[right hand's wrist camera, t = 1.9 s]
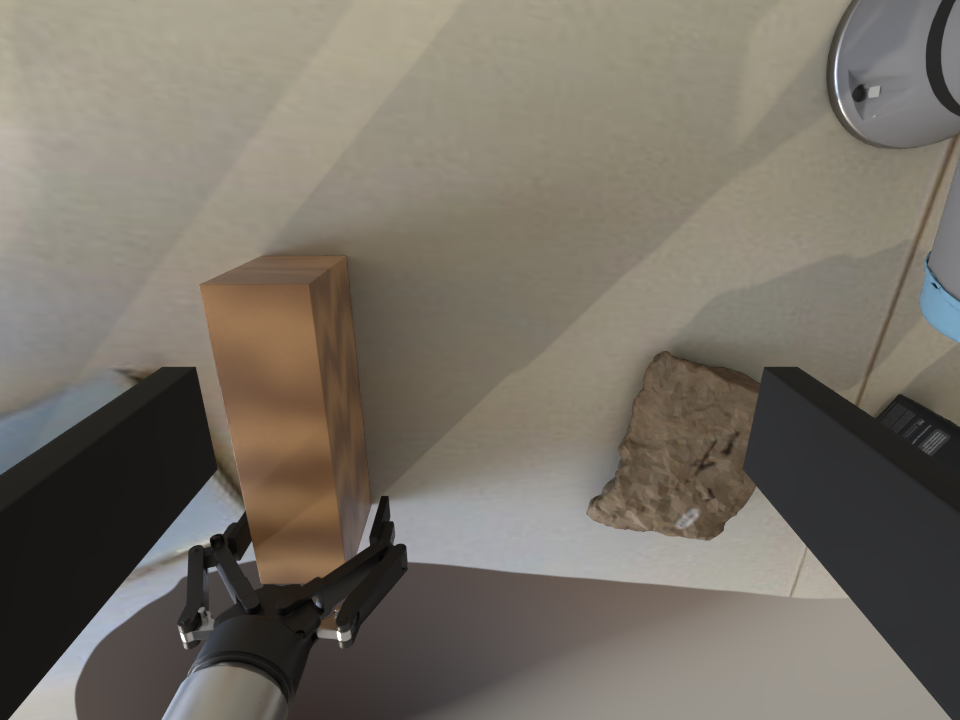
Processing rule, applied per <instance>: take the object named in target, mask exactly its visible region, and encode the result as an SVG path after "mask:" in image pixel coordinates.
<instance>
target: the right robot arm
mask: <svg viewBox="0 0 960 720" xmlns="http://www.w3.org/2000/svg"><path fill="white" fill-rule="evenodd" d="M827 88H828V95H829V99H830V103H831V106H832V108H833V111H834V113H835V115H836V117H837V119H838V120H839V122H840V123H841V124H842V126H843V127H844V128H845V129H846V130H847V131H848V132H849V133H850V134H851V135H852V136H854V137H855V138H857V139H858V140H860V141H862V142H864V143H866V144H869V145H872V146H876V147H880V148H916V147H921V146H925V145H929V144H933V143H937V142H940V141H943V140H945V139H948V138H950V137H952V136H954V135H956V134H959V133H960V0H853V1H852V2H851V4H850V5H849V6H848V8H847V10H846V11H845V13H844V15H843V17H842V19H841V21H840V23H839V25H838V27H837V30H836V32H835V35H834V37H833V41H832V44H831V47H830V52H829V56H828V64H827ZM924 264H925V268H924V270H925V278H924V282H923V286H922V291H921V295H920V306H921V311H922V313H923V316H924V318H925V319H926V320H927V321H928V323H929V324H930V325H931V326H932V327H934V328H935V329H936V330H937V331H939V332H940V333H942V334H943V335H945V336H946V337H948V338H950V339H952V340H954V341H956V342H958V343H960V156H959V160H958V163H957V166H956V170H955V173H954V177H953V180H952V183H951V187H950V190H949V194H948V197H947V200H946V204H945V207H944V211H943V214H942V217H941V221H940V224H939V228H938V231H937V234H936V238H935V241H934V245H933V248H932V251H931V252H929V254H928V255H927V257H926V260H925V263H924ZM216 470H217V464H216V460H215V455H214V450H213V446H212V441H211V436H210V432H209V427H208V422H207V417H206V413H205V408H204V403H203V399H202V394H201V389H200V385H199V380H198V375H197V371H196V367H162V368H160V369H159V370H157V371H156V372H154V373H153V374H151V375H150V376H148V377H147V378H145V379H144V380H142V381H141V382H139V383H138V384H136V385H135V386H133V387H132V388H130V389H129V390H127V391H126V392H124V393H123V394H121V395H120V396H118V397H117V398H115V399H114V400H112V401H111V402H109V403H108V404H106V405H105V406H103V407H102V408H100V409H99V410H97V411H96V412H94V413H93V414H91V415H90V416H88V417H87V418H85V419H84V420H82V421H81V422H79V423H78V424H76V425H75V426H73V427H72V428H70V429H69V430H67V431H66V432H64V433H63V434H61V435H60V436H58V437H57V438H55V439H54V440H52V441H51V442H49V443H48V444H46V445H45V446H43V447H42V448H40V449H39V450H37V451H36V452H34V453H33V454H31V455H30V456H28V457H27V458H25V459H24V460H22V461H21V462H19V463H18V464H16V465H15V466H13V467H12V468H10V469H9V470H7V471H6V472H4V473H3V474H1V475H0V720H8V719H9V718H10V717H11V716H12V714H13V713H14V712H15V711H16V710H17V708H18V707H19V706H20V705H21V704H22V702H23V701H24V700H25V699H26V698H27V696H28V695H29V694H30V693H31V692H32V690H33V689H34V688H35V687H36V686H37V684H38V683H39V682H40V681H41V680H42V678H43V677H44V676H45V675H46V674H47V672H48V671H49V670H50V669H51V668H52V667H53V665H54V664H55V663H56V662H57V661H58V659H59V658H60V657H61V656H62V655H63V653H64V652H65V651H66V650H67V649H68V647H69V646H70V645H71V644H72V643H73V641H74V640H75V639H76V638H77V637H78V635H79V634H80V633H81V632H82V631H83V629H84V628H85V627H86V626H87V625H88V623H89V622H90V621H91V620H92V619H93V617H94V616H95V615H96V614H97V613H98V611H99V610H100V609H101V608H102V607H103V605H104V604H105V603H106V602H107V601H108V600H109V598H110V597H111V596H112V595H113V594H114V592H115V591H116V590H117V589H118V588H119V586H120V585H121V584H122V583H123V582H124V580H125V579H126V578H127V577H128V576H129V574H130V573H131V572H132V571H133V570H134V568H135V567H136V566H137V565H138V564H139V562H140V561H141V560H142V559H143V558H144V556H145V555H146V554H147V553H148V552H149V550H150V549H151V548H152V547H153V546H154V544H155V543H156V542H157V541H158V540H159V539H160V537H161V536H162V535H163V534H164V533H165V531H166V530H167V529H168V528H169V527H170V525H171V524H172V523H173V522H174V521H175V519H176V518H177V517H178V516H179V515H180V513H181V512H182V511H183V510H184V509H185V507H186V506H187V505H188V504H189V503H190V501H191V500H192V499H193V498H194V497H195V495H196V494H197V493H198V492H199V491H200V489H201V488H202V487H203V486H204V485H205V483H206V482H207V481H208V480H209V479H210V478H211V476H212V475H213V474H214V473H215V472H216ZM743 470H744V472H745V473H746V474H747V475H748V476H749V478H750V479H751V480H752V481H753V482H754V483H755V485H756V486H757V487H758V488H759V489H760V491H761V492H762V493H763V494H764V495H765V497H766V498H767V499H768V500H769V501H770V503H771V504H772V505H773V506H774V507H775V509H776V510H777V511H778V512H779V513H780V515H781V516H782V517H783V518H784V519H785V521H786V522H787V523H788V524H789V525H790V527H791V528H792V529H793V530H794V531H795V533H796V534H797V535H798V536H799V537H800V539H801V540H802V541H803V542H804V543H805V544H806V546H807V547H808V548H809V549H810V550H811V552H812V553H813V554H814V555H815V556H816V558H817V559H818V560H819V561H820V562H821V564H822V565H823V566H824V567H825V568H826V570H827V571H828V572H829V573H830V574H831V576H832V577H833V578H834V579H835V580H836V582H837V583H838V584H839V585H840V586H841V588H842V589H843V590H844V591H845V592H846V594H847V595H848V596H849V597H850V598H851V600H852V601H853V602H854V603H855V604H856V605H857V607H858V608H859V609H860V610H861V611H862V613H863V614H864V615H865V616H866V617H867V619H868V620H869V621H870V622H871V623H872V625H873V626H874V627H875V628H876V629H877V631H878V632H879V633H880V634H881V635H882V636H883V638H884V639H885V640H886V641H887V643H888V644H889V645H890V646H891V647H892V649H893V650H894V651H895V652H896V653H897V655H898V656H899V657H900V658H901V659H902V661H903V662H904V663H905V664H906V665H907V667H908V668H909V669H910V670H911V671H912V672H913V674H914V675H915V676H916V677H917V678H918V680H919V681H920V682H921V683H922V684H923V686H924V687H925V688H926V689H927V690H928V692H929V693H930V694H931V695H932V696H933V698H934V699H935V700H936V701H937V702H938V704H939V705H940V706H941V707H942V708H943V710H944V711H945V712H946V713H947V714H948V716H949V717H950V718H951V719H952V720H960V475H959V474H957V473H956V472H954V471H953V470H951V469H950V468H948V467H947V466H945V465H944V464H942V463H941V462H939V461H938V460H936V459H935V458H933V457H932V456H930V455H929V454H927V453H926V452H924V451H923V450H921V449H920V448H918V447H917V446H915V445H914V444H912V443H911V442H909V441H908V440H906V439H905V438H903V437H902V436H900V435H899V434H897V433H896V432H894V431H893V430H891V429H890V428H888V427H887V426H885V425H884V424H882V423H881V422H879V421H878V420H876V419H875V418H873V417H872V416H870V415H869V414H867V413H866V412H864V411H863V410H861V409H860V408H858V407H857V406H855V405H854V404H852V403H851V402H849V401H848V400H846V399H845V398H843V397H842V396H840V395H839V394H837V393H836V392H834V391H833V390H831V389H830V388H828V387H827V386H825V385H824V384H822V383H821V382H819V381H818V380H816V379H815V378H813V377H812V376H810V375H809V374H807V373H806V372H804V371H803V370H801V369H800V368H798V367H764V371H763V375H762V380H761V385H760V389H759V394H758V399H757V403H756V408H755V413H754V417H753V422H752V427H751V432H750V436H749V441H748V446H747V450H746V455H745V460H744V464H743Z"/></svg>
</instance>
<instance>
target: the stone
mask: <svg viewBox="0 0 960 720" xmlns="http://www.w3.org/2000/svg"><path fill="white" fill-rule="evenodd" d="M760 385H761V384H759V383H758V382H756V381H754V380H753V379H751V378H750V377H749V376H747V375H745V374H743V373H740V372H737V371H733V370H731V369H727V368H723V367H707V366H704V365H702V364H698V363H695V362H691V361H688V360H685V359H678V358H676V357H674V356H672V355H671V354H670V353H669V352H667V351H664V352H661V353H660V354H658V355H656V356H655V357H654V360H653V362H652V363H650V365H649V367H648V369H647V370H646V372H645V376H644V379H643V389H642V390H641V391H640V392H639V394H638V396H637V397H636V398H635V399H634V403H633V414H632V418H631V422H630V426H629V427H628V430H627V434H626V436H625V438H624V439H623V441H622V443H621V444H620V445H619V448H618V451H619V452H620V455H621V461H620V462H619V467H618V470H617V471H616V474H615V478H614V479H612V480H611V481H609V482H608V483H607V484H606V485H605V487H604V488H603V491H602V494H601V495H599V496H596V497H594V498H593V499H591V500H590V503H589V507H588V510H587V515H588V516H590V517H591V518H592V519H593V520H594V521H597V522H599V523H603V524H604V525H606V526H612V527H614V528H617V529H625V530H626V529H630V530H634V531H642V532H645V531H656V532H659V533H662V534H664V535H667V536H681V537H686V538H692V539H694V538H695V539H702V540H711V539H712V538H714V537H716V536H718V535H719V534H720V533H721V532H723V531H724V525H725V523H726V522H727V521H728V520H729V519H730V518H731V517H733V516H735V515H737V512H738V511H739V510H740V509H742V508H743V507H744V505H745V504H746V503H747V501H748V500H749V498H750V497H751V495H752V493H753V491H754V490H755V488H756V485H755V483H754V482H753V481H752V480H751V479H750V478H749V476H748V475H747V474H746V473H745V472H744V470H743V464H744V460H745V455H746V450H747V446H748V441H749V436H750V432H751V427H752V422H753V417H754V413H755V408H756V403H757V399H758V394H759V389H760Z"/></svg>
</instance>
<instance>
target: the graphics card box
mask: <svg viewBox="0 0 960 720" xmlns="http://www.w3.org/2000/svg"><path fill="white" fill-rule="evenodd" d="M876 420H878V421H879V422H881V423H882V424H884V425H885V426H887V427H888V428H890V429H891V430H893V431H894V432H896V433H897V434H899V435H900V436H902V437H903V438H905V439H906V440H908V441H909V442H911V443H912V444H914V445H915V446H917V447H918V448H920V449H921V450H923V451H924V452H926V453H927V454H929V455H930V456H932V457H933V458H935V459H936V460H938V461H939V462H941V463H942V464H944V465H945V466H947V467H948V468H950V469H951V470H953V471H954V472H956V473H957V474H959V475H960V427H959V426H957V425H956V424H954V423H953V422H951V421H950V420H947V419H945V418H943V417H942V416H940V415H938V414H936V413H934V412H933V411H931V410H929V409H927V408H926V407H924V406H922V405H920V404H918V403H916V402H915V401H913V400H911V399H909V398H907V397H905V396H903V395H901V394H899V395H898V396H897V397H896V398H895V399H894V400H893V401H892V403H891V404H890V405H889V406H888V407H887V408H886V409H885V410H884V411H883V412H882V413H881V414H880V415H879V417H878V418H877V419H876Z"/></svg>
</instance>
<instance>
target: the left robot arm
mask: <svg viewBox="0 0 960 720" xmlns="http://www.w3.org/2000/svg"><path fill="white" fill-rule="evenodd" d="M389 520H390V508H389V496H381V499H380V503H379V506H378V510H377V513H376V516H375V520H374V523H373V526H372V530H371V533H370V537H369V540H370V546H369V547H368V548H366V549H365V550H363V551H362V552H360V553H359V554H357V555H356V556H354V557H353V558H351V559H350V560H348V561H347V562H345V563H344V564H342V565H341V566H339V567H338V568H336V569H335V570H333V571H332V572H331V573H329V574H328V575H326V576H325V577H323V578H321V577H316V578H314V579H313V580H311V581H310V582H308V583H307V584H305V585H304V586H302V587H301V586H300V584H294V585H286V586H277V585H264V586H263V588H259V589H257V590H255V591H254V590H253V588H252V586H251V584H250V582H249V581H248V579H247V577H245V576H244V575H243V573H242V571H241V569H240V567H239V566H238V564H237V562H236V561H240V560H241V558H242V556H243V555H244V553H245V551H246V550H247V548H248V546H249V545H250V543H251V541H252V538H251V533H250V528H249V523H248V518H247V513H246V511H245V512H244V514H243V515H242V517H241V518H240V520H239V521H238V523H232V524H230V525H229V526H228V528H227V529H226V531H225V532H224V534H216V535H214V536H212V537H211V538H210V543H211V547H207V548H203V546H201V545H196V546H193V547H192V548H191V549H190V550H189V555H188V580H187V604H186V606H185V608H184V610H183V612H182V614H181V616H180V618H179V620H178V622H177V625H178V628H179V632H180V635H181V639H182V642H183V645H184V648H185V649H193V648H195V647H196V646H197V645H198V644H199V643H200V641H201V640H202V639H207V640H206V642H205V644H204V646H203V648H202V649H201V651H200V653H199V655H198V657H197V658H196V660H195V662H194V664H193V665H192V667H191V669H190V671H189V673H188V676H187V678H186V679H185V680H184V681H183V682H182V683H181V685H180V687H179V689H178V691H177V692H176V694H175V696H174V698H173V700H172V702H171V703H170V705H169V707H168V709H167V711H166V713H165V714H164V716H163V718H162V720H286V719H287V715H288V710H289V708H290V707H291V705H292V702H293V700H294V697H295V694H296V691H297V688H298V685H299V682H300V680H301V676H302V674H303V671H304V668H305V665H306V662H307V658H308V655H309V651H310V649H311V647H312V646H313V645H314V644H315V643H316V642H317V641H318V640H319V638H329V639H338V642H339V646H340V647H341V648H349V647H350V646H352V645H353V643H354V641H355V638H356V635H357V633H358V630H359V628H360V625H361V624H362V623H363V622H364V620H365V619H366V618H367V617H368V616H369V615H370V613H371V612H372V611H373V610H374V609H375V608H376V606H377V605H378V604H379V603H380V602H381V600H382V599H383V598H384V597H385V596H386V595H387V593H388V592H389V591H390V590H391V589H392V587H393V586H394V585H395V584H396V583H397V582H398V580H399V579H400V578H401V577H402V576H403V574H404V573H405V572H406V571H407V569H408V563H407V550H406V545H404V544H397V545H395V546H393V542H394V538H395V530H394V523H393V521H389ZM214 566H216V568H217V570H218V572H219V574H220V576H221V578H222V579H223V582H224V583H225V586H226V588H227V589H228V592H229V593H230V595H231V597H232V599H233V601H234V603H235V604H234V605H233V606H231V607H230V608H228V609H227V610H225V611H224V612H223V613H221V614H220V615H219V616H218V617H217V618H216V620H214V619H213V618H212V614H211V612H210V611H209V608H208V607H209V606H208V568H210V567H214ZM348 595H349V596H348ZM314 596H315V598H316V606H315V604H314V602H313V600H312V597H314ZM347 596H348V597H347ZM346 597H347V598H346ZM344 598H346V600H345V601H344V603H343V605H342V607H341V606H337V607H336V608H335V612H334V613H333V614H332V615H331V616H330V617H329V618H326V619H324V618H325V617H326V616H328V615H329V614H330V613H331V611H332V608H333V607H334V606H335V605H336V604H337V603H339V602H340V601H341V600H343V599H344Z"/></svg>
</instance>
